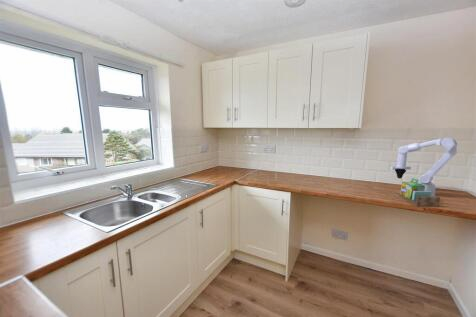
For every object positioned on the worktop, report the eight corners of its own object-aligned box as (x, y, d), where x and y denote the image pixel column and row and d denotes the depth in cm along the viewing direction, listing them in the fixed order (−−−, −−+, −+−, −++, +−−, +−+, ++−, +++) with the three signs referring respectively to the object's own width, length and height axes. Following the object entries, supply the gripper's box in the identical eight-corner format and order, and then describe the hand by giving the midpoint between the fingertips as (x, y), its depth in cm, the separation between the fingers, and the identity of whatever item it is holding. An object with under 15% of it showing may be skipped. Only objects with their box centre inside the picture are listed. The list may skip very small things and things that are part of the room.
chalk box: (399, 196, 148) (401, 177, 146) (411, 196, 148) (414, 177, 146) (409, 201, 139) (412, 180, 137) (423, 201, 139) (426, 180, 137)
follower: (427, 202, 137) (429, 190, 136) (429, 203, 136) (431, 191, 134) (411, 202, 137) (413, 190, 136) (413, 203, 136) (415, 191, 134)
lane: (413, 195, 150) (414, 188, 149) (438, 206, 131) (440, 197, 130) (394, 195, 150) (395, 188, 149) (416, 206, 131) (418, 197, 130)
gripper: (406, 160, 165) (404, 176, 167) (388, 160, 165) (386, 176, 167) (414, 162, 158) (411, 179, 160) (395, 162, 158) (393, 179, 160)
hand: (399, 178), depth 163 cm, fingers closed
